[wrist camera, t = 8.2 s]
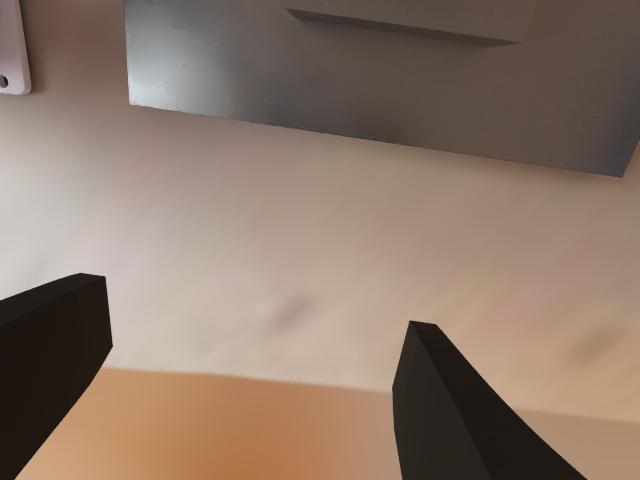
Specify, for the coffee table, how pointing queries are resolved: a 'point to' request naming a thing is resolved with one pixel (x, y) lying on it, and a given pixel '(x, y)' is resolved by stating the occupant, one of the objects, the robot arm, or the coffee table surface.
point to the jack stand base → (405, 72)
